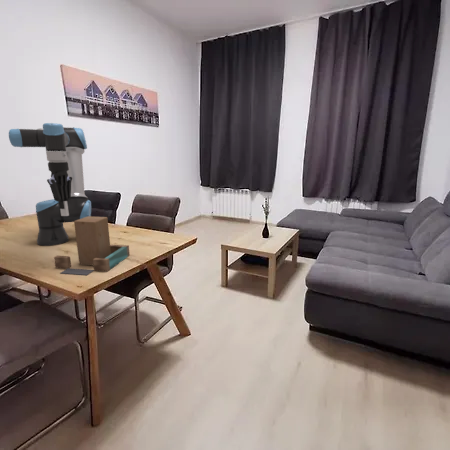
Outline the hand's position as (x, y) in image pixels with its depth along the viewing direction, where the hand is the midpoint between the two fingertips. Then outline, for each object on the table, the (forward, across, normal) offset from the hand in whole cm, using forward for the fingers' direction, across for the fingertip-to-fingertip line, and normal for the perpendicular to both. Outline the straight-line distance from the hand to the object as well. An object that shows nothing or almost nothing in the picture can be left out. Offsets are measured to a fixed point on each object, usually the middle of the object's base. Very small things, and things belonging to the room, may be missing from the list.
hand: (65, 215), depth 128 cm
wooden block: (+21, 0, -13) cm, 25 cm away
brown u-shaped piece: (+21, 0, -11) cm, 24 cm away
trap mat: (+21, -13, -12) cm, 27 cm away
